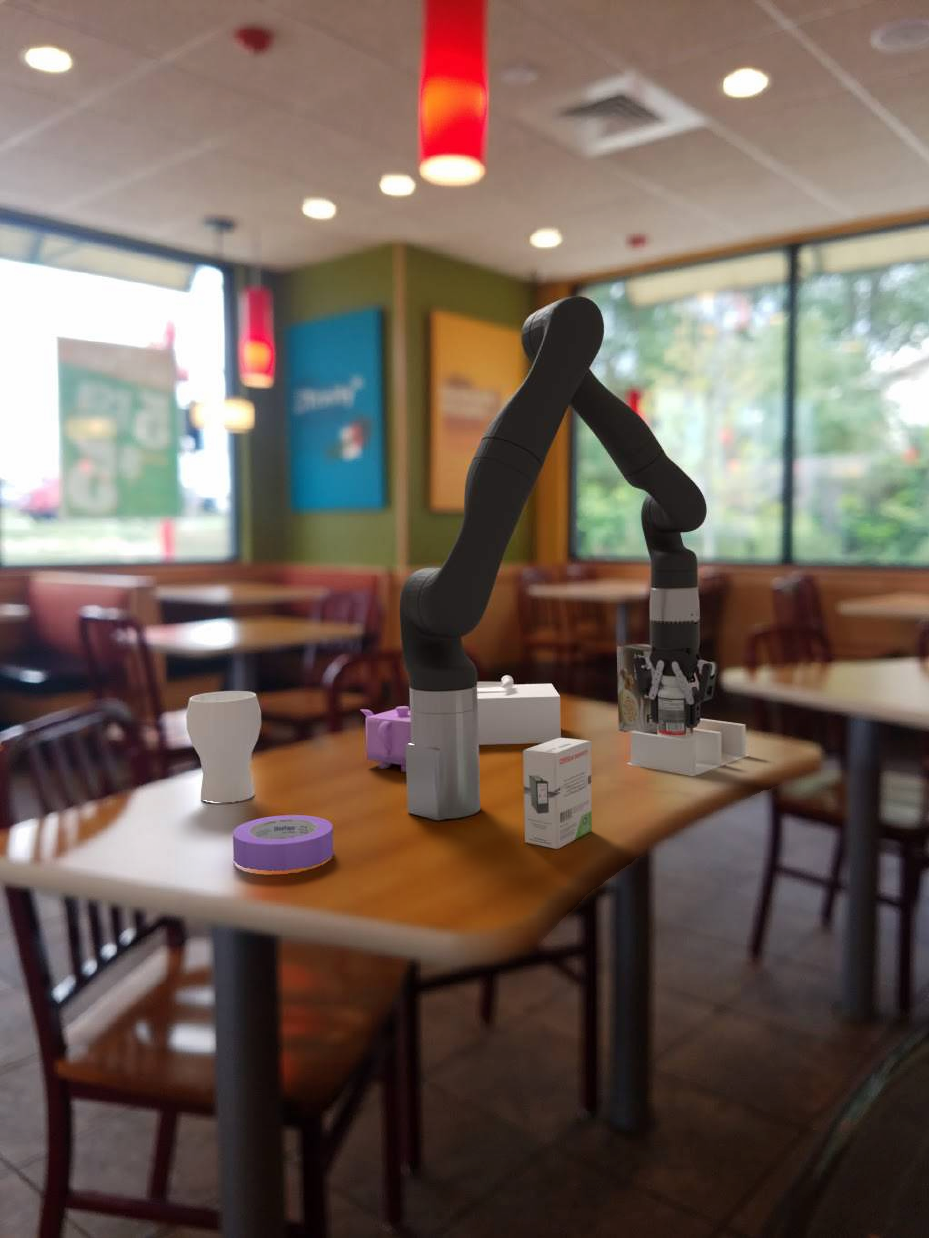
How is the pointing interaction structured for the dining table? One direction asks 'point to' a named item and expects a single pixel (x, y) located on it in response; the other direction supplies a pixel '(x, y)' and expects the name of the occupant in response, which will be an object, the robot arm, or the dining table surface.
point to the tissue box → (517, 712)
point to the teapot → (388, 736)
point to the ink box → (557, 792)
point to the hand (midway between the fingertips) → (675, 724)
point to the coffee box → (633, 691)
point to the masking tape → (283, 842)
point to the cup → (224, 742)
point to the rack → (690, 748)
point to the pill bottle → (672, 710)
